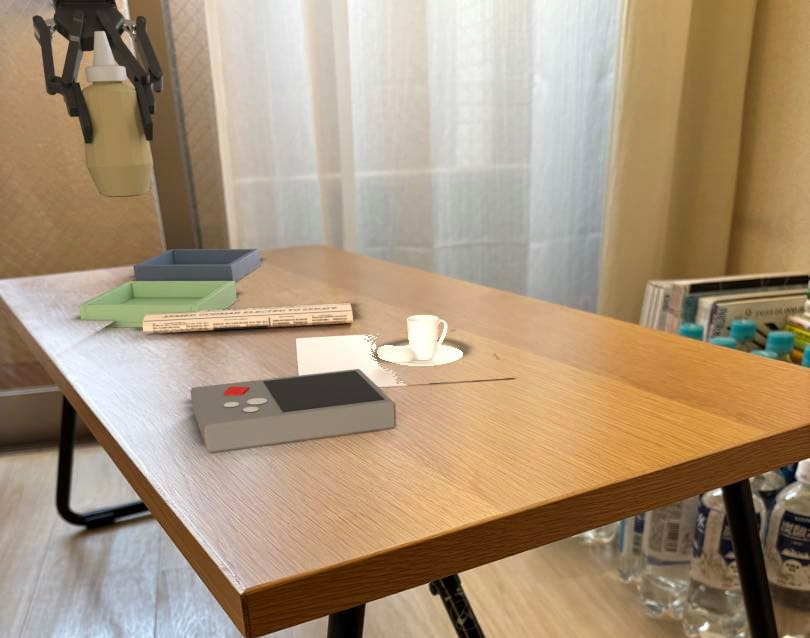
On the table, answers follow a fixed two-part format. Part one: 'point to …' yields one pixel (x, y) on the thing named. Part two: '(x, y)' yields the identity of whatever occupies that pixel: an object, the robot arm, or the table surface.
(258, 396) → the electronic device
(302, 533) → the table surface
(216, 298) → the green tray
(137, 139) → the squeeze bottle
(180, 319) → the newspaper
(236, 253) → the blue tray
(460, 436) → the table surface
